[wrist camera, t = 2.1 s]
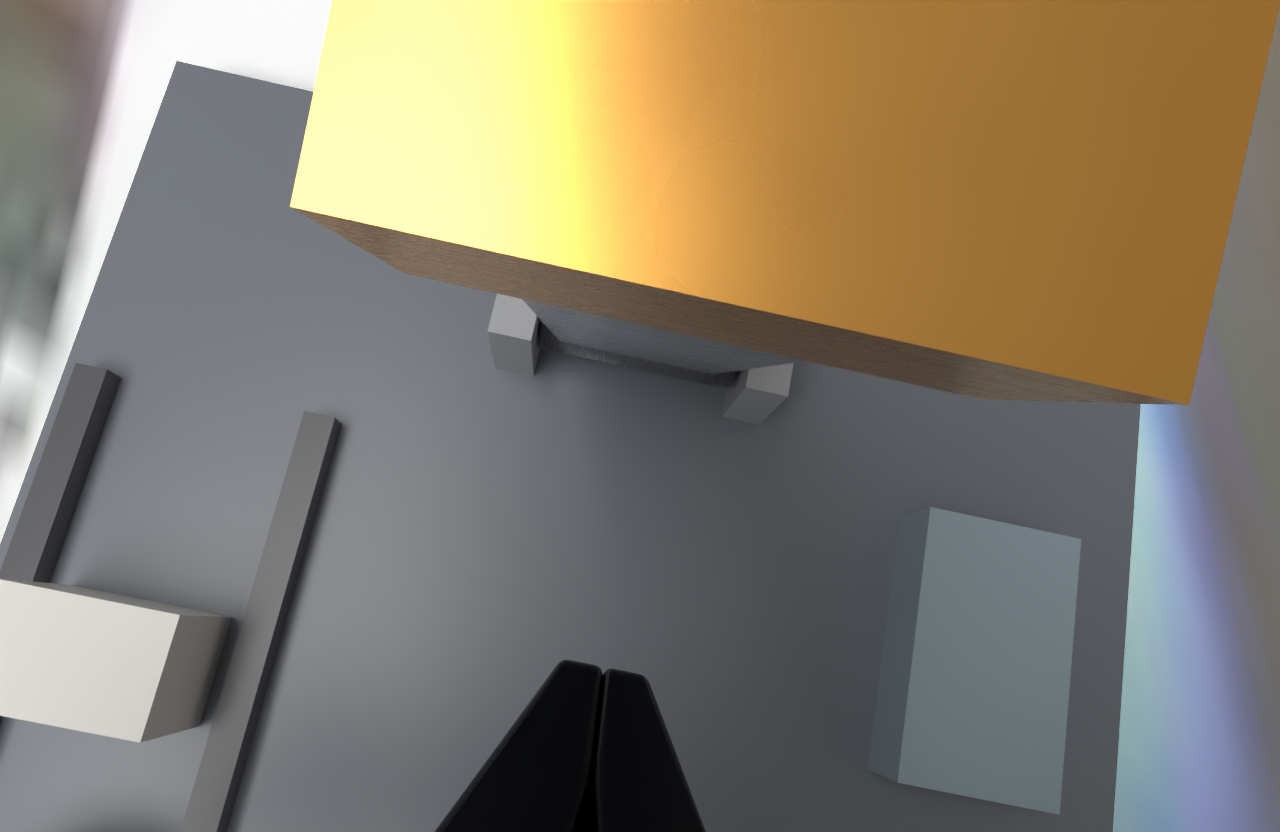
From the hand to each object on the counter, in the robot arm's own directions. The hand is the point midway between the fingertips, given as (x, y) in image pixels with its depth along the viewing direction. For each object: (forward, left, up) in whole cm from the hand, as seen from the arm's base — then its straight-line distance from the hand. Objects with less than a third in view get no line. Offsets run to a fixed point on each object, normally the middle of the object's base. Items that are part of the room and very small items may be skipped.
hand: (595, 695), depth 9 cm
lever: (+6, -3, -8) cm, 10 cm away
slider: (+3, +8, -9) cm, 12 cm away
